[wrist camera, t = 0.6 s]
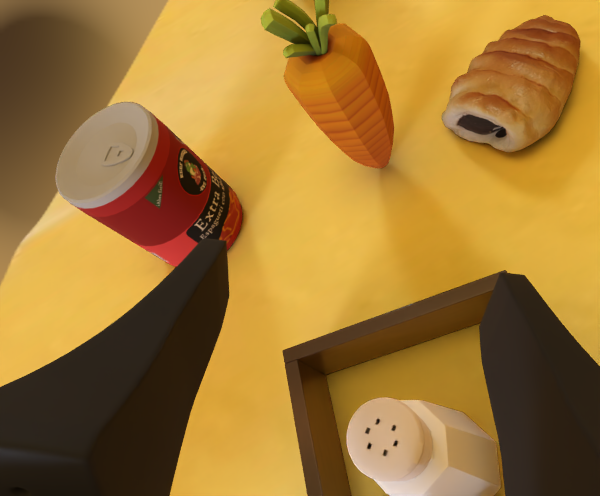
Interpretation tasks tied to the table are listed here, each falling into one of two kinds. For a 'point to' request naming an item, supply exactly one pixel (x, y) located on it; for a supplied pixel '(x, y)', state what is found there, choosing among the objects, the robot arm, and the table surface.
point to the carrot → (336, 81)
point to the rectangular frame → (357, 349)
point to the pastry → (516, 86)
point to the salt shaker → (422, 449)
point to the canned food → (146, 183)
